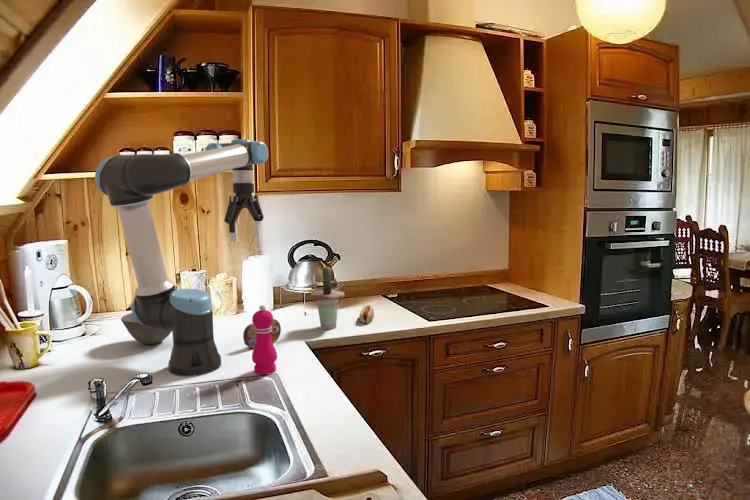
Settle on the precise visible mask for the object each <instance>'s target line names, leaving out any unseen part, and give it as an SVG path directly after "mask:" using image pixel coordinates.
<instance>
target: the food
mask: <svg viewBox="0 0 750 500" xmlns="http://www.w3.org/2000/svg"><path fill="white" fill-rule="evenodd" d="M374 311H375V310H374V308H373V306H371V305H370V304H369V305H366V306H364V307H362V309H361V311H360V313H359V315H358V318H359V321H360V322H361V323H362V324H368V323H370V322H372V320H373V318H374V317H375V312H374Z"/></svg>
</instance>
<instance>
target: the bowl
mask: <svg viewBox="0 0 750 500" xmlns="http://www.w3.org/2000/svg"><path fill="white" fill-rule="evenodd" d="M120 321H121V322H122V323H123V325H124V327H125V328H126V330H127V332H128V334H130V335H131V337H132V338H133V339H134V340H136V341H137V342H139V344H143V345H154V344H159V343H161V342H163V341H164V340H165V339H166V338H168V337H169V336H170V335H171V333H173V332H172V331H168V330H162V329H152V328H149V327H146V326H143V325H141V324H139V323H138V322H137V321H136V320H135V318H134V316H133V314H132V312H130V313H127V314H126V315H123V316H122V317H121V318H120Z"/></svg>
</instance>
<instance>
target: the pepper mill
mask: <svg viewBox="0 0 750 500" xmlns="http://www.w3.org/2000/svg"><path fill="white" fill-rule="evenodd" d="M258 308H259V309H258V311H255V313H254V314H253V315H252V319H251V320H252V323H253V324H254V325H255V326H256V327H255V333H256V336H257V338H256V345H255V347H254V348H253V350H252V354H251V361H252V362H253V363H254V364H255V365H254V366H253V369H254V373H255V374H256V375H259V374H267V375H269V374H268V373H271V374H274V373H275V372H276V370H277V368H276V367H277V364H276V363H275V362H276V361H277V359H278V353H277V351H276V347H275V346H274V343H272V340H271V331H272V326H271V324H272V322H273V319H274V315H273V313H272V312H271V311H269V310H268V309H267V310H266V306H265V305H263V304H261V305H260V306H259V307H258ZM273 372H274V373H273Z"/></svg>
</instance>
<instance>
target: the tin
mask: <svg viewBox="0 0 750 500" xmlns="http://www.w3.org/2000/svg"><path fill="white" fill-rule="evenodd" d="M271 326H272V331H271V340H272V343H273V344H274V343H275V342H277V341H278V340H279V338H280V337H281V330H282V328H281V324H280V321H278V320H277V319H275V318H273V322H272V324H271ZM255 327H256V326H255V325H254V324H253V322H252V323H250V324H248V325H247V326H246V327H245V329H244V330H243V333H242V335H243V336H242V338H243V339H242V340H243V343H244V345H245V346H246V347H248V348H251V349H254V347H255V345H256V338H257V336H256V333H255Z"/></svg>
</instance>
